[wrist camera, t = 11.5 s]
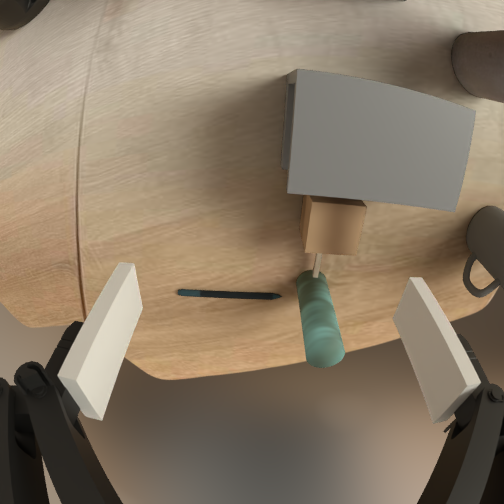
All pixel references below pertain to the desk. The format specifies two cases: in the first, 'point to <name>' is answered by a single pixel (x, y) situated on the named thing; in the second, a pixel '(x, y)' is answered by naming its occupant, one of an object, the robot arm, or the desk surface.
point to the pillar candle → (480, 63)
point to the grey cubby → (373, 141)
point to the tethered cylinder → (314, 282)
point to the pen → (228, 294)
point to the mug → (486, 248)
